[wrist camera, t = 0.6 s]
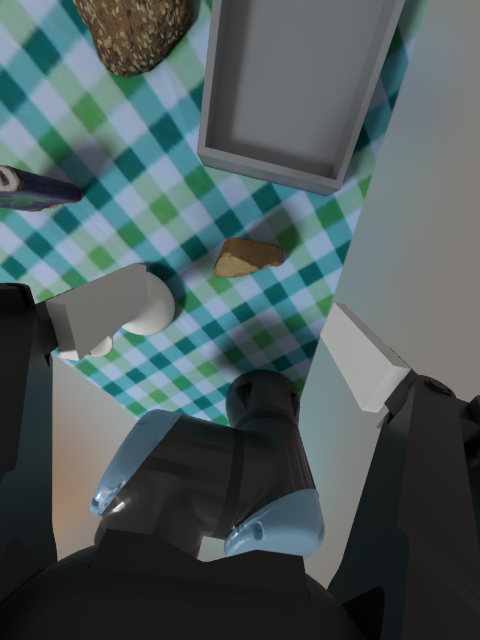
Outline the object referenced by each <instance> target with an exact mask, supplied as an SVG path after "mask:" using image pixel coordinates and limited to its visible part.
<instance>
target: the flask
mask: <svg viewBox="0 0 480 640" xmlns="http://www.w3.org/2000/svg"><path fill="white" fill-rule="evenodd" d="M82 197H83V196H82V194H81V191H80V189H79V188H78V186H77V185H75V184H71V183H67V182H63V181H58V180H55V179H51V178H48V177H44V176H40V175H37V174H33V173H30V172H26V171H22V170H19V169H16V168H13V167H10V166H3V165H0V208H6V209H14V210H21V211H28V212H34V211H42V210H41V209H45V208H49V209H50V208H54V207H57V206H58V205H59V204H62V205H64V204H65V203H70V204H71V203H77V202H80V200H81V198H82Z"/></svg>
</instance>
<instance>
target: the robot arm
mask: <svg viewBox="0 0 480 640" xmlns="http://www.w3.org/2000/svg"><path fill="white" fill-rule="evenodd" d="M146 303H147V283H146V265H142V264H137V263H133V264H131V265H129V266H126V267H124V268H122V269H119V270H117V271H115V272H112V273H110V274H108V275H105V276H103V277H101V278H98V279H96V280H93V281H91V282H89V283H86V284H84V285H82V286H79V287H77V288H73V289H70V290H68V291H66V292H63V293H61V294H59V295H56V297H55V296H54V297H51V298H49V299H47V300H44V301H42V302H40V303H37V304H35V303H34V299H33V296H32V293H31V290H30V287H29V286H28V285H25V284H21V283H0V640H480V396H479V395H478V396H476V397H475V398H474V399H473V400H472V401H471V402H470V403H468V402H465V401H462V400H460V399H457V398H456V396H455V394H454V393H453V392H452V390H450V389H449V388H448V387H447V386H445V385H444V384H442V383H441V382H439V381H437V380H435V379H433V378H430V377H428V376H423V375H418V374H416V373H415V372H414V371H413V370H412V369H411V368H410V367H409V366H408V365H407V364H406V363H405V362H404V361H402V359H401V358H400V357H399V356H397V354H396V353H395V352H394V351H393V350H392V349H391V348H389V347H388V346H387V345H386V344H385V343H384V342H383V341H382V340H381V339H380V338H379V337H378V336H377V335H376V334H375V333H374V332H373V331H372V330H371V329H370V328H369V327H368V326H367V325H365V324H364V323H363V322H362V321H361V320H360V319H359V318H358V317H357V316H356V315H355V314H354V313H353V312H352V311H351V310H350V309H349V308H348V307H347V306H346V305H344V304H340V303H334V304H333V307H332V309H331V311H330V313H329V316H328V318H327V320H326V323H325V325H324V327H323V329H322V332H321V334H320V336H321V338H322V340H323V342H324V343H325V345H326V347H327V349H328V351H329V352H330V354H331V356H332V358H333V359H334V361H335V363H336V365H337V367H338V368H339V370H340V372H341V374H342V376H343V377H344V379H345V381H346V383H347V384H348V386H349V388H350V390H351V391H352V393H353V395H354V397H355V399H356V400H357V402H358V404H359V406H360V408H361V409H362V410H364V411H370V412H375V413H378V412H379V410H380V409H381V407H382V406H383V405H384V404H385V405H386V406H387V408H388V409H389V412H388V413H387V415H386V416H385V417H384V418H383V420H382V421H381V422H380V423H379V424H378V426H377V428H380V427H382V428H381V431H380V434H379V438H378V441H377V445H376V448H375V452H374V455H373V458H372V461H371V465H370V468H369V471H368V475H367V478H366V481H365V485H364V488H363V492H362V495H361V498H360V502H359V505H358V509H357V512H356V515H355V518H354V522H353V525H352V529H351V532H350V535H349V538H348V542H347V545H346V549H345V552H344V555H343V559H342V562H341V564H340V567H339V569H338V571H337V572H336V574H335V576H334V577H333V579H332V580H331V582H330V584H329V586H328V588H327V590H326V589H325V588H324V587H323V586H322V585H321V584H320V583H318V582H317V581H316V580H314V579H313V578H312V577H310V576H309V575H307V574H306V573H305V568H304V560H305V559H307V558H309V557H310V556H311V555H312V554H313V553H315V552H316V551H317V550H318V548H319V547H320V546H321V544H322V542H323V539H324V533H325V527H324V521H323V517H322V512H321V508H320V503H319V494H318V492H317V490H316V487H315V484H314V480H313V477H312V474H311V470H310V467H309V463H308V460H307V457H306V453H305V450H304V447H303V443H302V440H301V437H300V433H299V429H298V422H299V410H300V401H299V397H298V394H297V391H296V388H295V386H294V385H293V383H292V382H291V381H290V380H289V379H288V378H287V377H285V376H283V375H282V374H279V373H277V372H273V371H267V370H259V371H252V372H249V373H246V374H244V375H242V376H240V377H239V378H237V379H236V380H235V381H234V382H233V383H232V384H231V385H230V387H229V389H228V391H227V395H226V412H227V416H228V419H229V422H230V426H231V427H228V426H225V425H221V424H217V423H214V422H210V421H206V420H202V419H199V418H195V417H191V416H188V415H184V414H183V413H181V412H180V413H175V412H170V411H165V410H161V409H155V410H152V411H149V412H148V413H146V414H145V415H144V416H143V417H142V418H141V419H140V420H139V421H138V422H137V423H136V424H135V426H134V427H133V428H132V430H131V431H130V433H129V434H128V435H127V437H126V438H125V440H124V441H123V443H122V444H121V446H120V448H119V449H118V451H117V452H116V454H115V456H114V457H113V459H112V461H111V462H110V464H109V466H108V468H107V469H106V472H105V473H104V475H103V477H102V479H101V481H100V483H99V485H98V487H97V489H96V491H95V494H94V498H93V500H92V502H91V505H90V511H91V512H92V513H93V514H95V517H100V516H102V520H101V522H100V524H99V527H98V529H97V532H96V534H95V536H94V539H93V546H90V547H87V548H85V549H83V550H80V551H77V552H75V553H73V554H71V555H69V556H67V557H65V558H64V559H61V560H60V561H58V562H57V550H56V543H55V538H54V533H53V526H52V378H53V377H52V376H53V373H52V371H53V370H52V369H53V368H52V367H53V365H52V364H53V363H52V362H53V360H52V356H51V353H50V352H52V351H53V350H54V349H56V348H57V347H58V348H59V351H60V355H61V358H65V359H71V360H77V361H80V360H81V359H82V358H83V357H84V356H85V355H87V354H88V353H89V352H90V351H91V350H92V349H94V348H95V347H96V346H97V345H98V344H99V343H101V342H102V341H103V340H104V339H105V338H106V337H108V336H109V335H110V334H111V333H112V332H113V331H115V330H116V329H117V328H118V327H119V326H120V325H122V324H123V323H124V322H125V321H126V320H127V319H129V318H130V317H131V316H132V315H133V314H134V313H136V312H137V311H138V310H139V309H140V308H141V307H143V306H144V305H145V304H146ZM203 536H206V537H213V538H218V539H222V540H225V543H224V551H225V554H226V557H225V558H221V559H218V560H214V561H210V562H202V561H200V560H198V559H197V557H198V553H199V549H200V545H201V541H202V538H203Z"/></svg>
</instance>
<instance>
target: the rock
mask: <svg viewBox="0 0 480 640" xmlns="http://www.w3.org/2000/svg"><path fill="white" fill-rule="evenodd" d="M280 265H282V248H281V247H278V246H276V245H274V244H268V243H264V242H260V241H251V240H247V239H240V238H230V237H229V238H228V239H227V240H226V241H225V242H224V244H223V247H222V249H221V252H220V255H219V257H218V259H217V261H216V263H215V266H214V274H213V275H214V276H215V277H218V276H225V277H230V278H234V277H241V276H245V275H248V274H250V273H253V272H254V271H257V270H261V269H264V268H265V267H268V266H280Z"/></svg>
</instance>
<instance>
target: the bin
mask: <svg viewBox="0 0 480 640" xmlns="http://www.w3.org/2000/svg"><path fill="white" fill-rule="evenodd" d="M404 3H405V0H213V4H212V14H211V23H210V33H209V43H208V52H207V62H206V71H205V81H204V91H203V100H202V110H201V120H200V129H199V139H198V149H197V154H198V156H199V158H200V160H201V161H202V163H203V165H204V166H207V167H211V168H215V169H219V170H223V171H227V172H231V173H235V174H239V175H243V176H247V177H251V178H255V179H259V180H263V181H267V182H271V183H275V184H279V185H283V186H287V187H292V188H296V189H300V190H304V191H308V192H312V193H316V194H320V195H324V196H328V195H330V194H332V193H334V192H336V191H338V190H340V189H341V186H342V183H343V180H344V177H345V174H346V172H347V169H348V166H349V163H350V160H351V157H352V154H353V151H354V148H355V145H356V142H357V140H358V137H359V134H360V131H361V128H362V125H363V122H364V119H365V116H366V113H367V110H368V108H369V105H370V102H371V99H372V96H373V93H374V90H375V87H376V84H377V81H378V78H379V75H380V73H381V70H382V67H383V64H384V61H385V58H386V55H387V52H388V49H389V46H390V43H391V41H392V38H393V35H394V32H395V29H396V26H397V23H398V20H399V17H400V14H401V11H402V9H403V6H404Z"/></svg>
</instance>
